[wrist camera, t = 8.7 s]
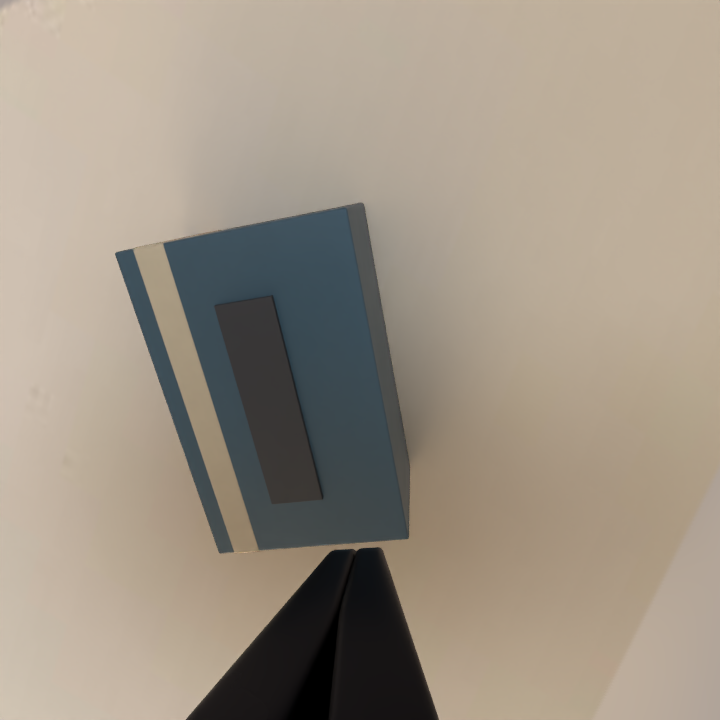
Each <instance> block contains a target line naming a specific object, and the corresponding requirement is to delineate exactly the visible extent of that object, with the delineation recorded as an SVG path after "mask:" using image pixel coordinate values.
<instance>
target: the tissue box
mask: <svg viewBox="0 0 720 720" xmlns="http://www.w3.org/2000/svg"><path fill="white" fill-rule="evenodd" d="M115 255H116V258H117V261H118V264H119V267H120V270H121V272H122V275H123V278H124V281H125V284H126V287H127V290H128V293H129V295H130V298H131V301H132V304H133V307H134V310H135V313H136V315H137V318H138V321H139V324H140V327H141V330H142V333H143V336H144V338H145V341H146V344H147V347H148V350H149V353H150V356H151V359H152V361H153V364H154V367H155V370H156V373H157V376H158V379H159V382H160V384H161V387H162V390H163V393H164V396H165V399H166V402H167V405H168V407H169V410H170V413H171V416H172V419H173V422H174V425H175V428H176V430H177V433H178V436H179V439H180V442H181V445H182V448H183V451H184V453H185V456H186V459H187V462H188V465H189V468H190V471H191V474H192V476H193V479H194V482H195V485H196V488H197V491H198V494H199V497H200V499H201V502H202V505H203V508H204V511H205V514H206V517H207V520H208V522H209V525H210V528H211V531H212V534H213V537H214V540H215V542H216V545H217V548H218V551H219V553H233V552H235V553H244V552H257V551H260V550H272V549H285V548H298V547H311V546H324V545H337V544H350V543H363V542H376V541H389V540H402V539H408V538H409V499H410V464H409V458H408V452H407V447H406V441H405V435H404V430H403V424H402V418H401V413H400V407H399V401H398V395H397V390H396V384H395V378H394V373H393V367H392V361H391V356H390V350H389V344H388V339H387V333H386V327H385V322H384V316H383V310H382V305H381V299H380V293H379V288H378V282H377V276H376V271H375V265H374V259H373V254H372V248H371V242H370V237H369V231H368V225H367V220H366V214H365V208H364V204H363V203H358V204H352V205H347V206H342V207H337V208H332V209H327V210H322V211H317V212H312V213H307V214H302V215H297V216H292V217H287V218H282V219H277V220H271V221H266V222H261V223H256V224H251V225H246V226H241V227H236V228H231V229H226V230H218V231H213V232H208V233H203V234H198V235H193V236H188V237H184V238H179V239H174V240H169V241H165V242H160V243H155V244H150V245H146V246H141V247H136V248H134V249H129V250H124V251H120V252H117V253H115Z"/></svg>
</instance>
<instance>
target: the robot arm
mask: <svg viewBox="0 0 720 720" xmlns="http://www.w3.org/2000/svg"><path fill="white" fill-rule="evenodd" d="M186 720H439V718H438V715H437V712H436V709H435V706H434V703H433V700H432V697H431V694H430V691H429V688H428V685H427V682H426V679H425V676H424V673H423V670H422V667H421V664H420V661H419V658H418V655H417V652H416V649H415V646H414V643H413V640H412V637H411V634H410V631H409V628H408V625H407V622H406V619H405V616H404V613H403V610H402V607H401V604H400V601H399V598H398V595H397V592H396V589H395V586H394V583H393V580H392V577H391V573H390V570H389V567H388V564H387V561H386V558H385V555H384V553H383V550H382V549H381V548H379V547H376V548H361V549H359V550H358V551H357V552H356V551H355V550H354V549H345V550H334V551H331V552H330V553H329V554H328V555H327V556H326V557H325V558H324V560H323V561H322V562H321V563H320V564H319V565H318V567H317V568H316V569H315V570H314V571H313V572H312V574H311V575H310V576H309V577H308V578H307V579H306V581H305V582H304V583H303V584H302V585H301V586H300V588H299V589H298V590H297V591H296V592H295V593H294V595H293V596H292V597H291V598H290V599H289V600H288V601H287V603H286V604H285V605H284V606H283V607H282V608H281V610H280V611H279V612H278V613H277V614H276V615H275V617H274V618H273V619H272V620H271V621H270V622H269V624H268V625H267V626H266V627H265V628H264V629H263V631H262V632H261V633H260V634H259V635H258V636H257V637H256V639H255V640H254V641H253V642H252V643H251V644H250V646H249V647H248V648H247V649H246V650H245V651H244V653H243V654H242V655H241V656H240V657H239V658H238V660H237V661H236V662H235V663H234V664H233V665H232V667H231V668H230V669H229V670H228V671H227V672H226V674H225V675H224V676H223V677H222V678H221V679H220V680H219V682H218V683H217V684H216V685H215V686H214V687H213V689H212V690H211V691H210V692H209V693H208V694H207V696H206V697H205V698H204V699H203V700H202V701H201V703H200V704H199V705H198V706H197V707H196V708H195V710H194V711H193V712H192V713H191V714H190V715H189V716H188V718H187V719H186Z"/></svg>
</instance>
